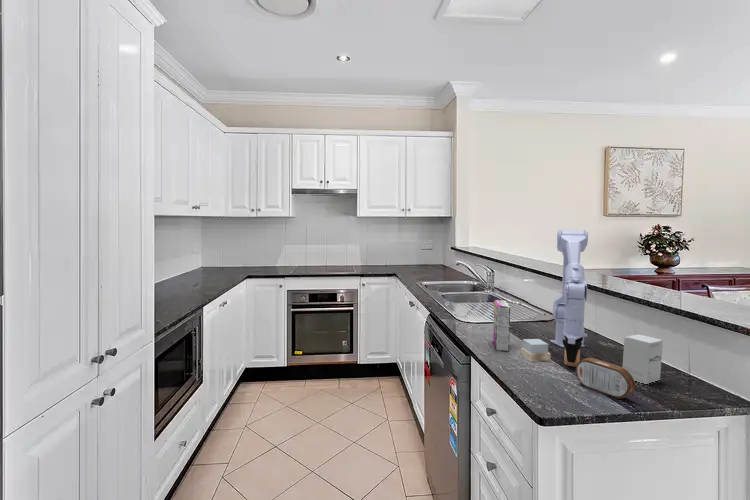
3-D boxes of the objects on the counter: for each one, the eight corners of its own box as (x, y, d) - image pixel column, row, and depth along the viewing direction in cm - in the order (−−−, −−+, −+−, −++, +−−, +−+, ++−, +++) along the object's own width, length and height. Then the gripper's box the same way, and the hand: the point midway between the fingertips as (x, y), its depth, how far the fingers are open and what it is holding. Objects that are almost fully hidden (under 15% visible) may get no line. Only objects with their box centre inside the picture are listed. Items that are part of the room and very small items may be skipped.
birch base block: (539, 355, 142) (539, 347, 141) (550, 362, 135) (550, 353, 134) (520, 355, 141) (520, 347, 140) (530, 363, 134) (531, 354, 134)
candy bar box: (492, 341, 156) (493, 299, 154) (505, 342, 155) (507, 300, 153) (494, 350, 145) (496, 305, 144) (509, 351, 144) (511, 306, 143)
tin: (634, 401, 105) (636, 370, 105) (628, 404, 104) (630, 372, 103) (579, 381, 118) (580, 353, 117) (573, 383, 116) (574, 355, 116)
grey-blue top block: (538, 347, 141) (539, 338, 141) (547, 352, 135) (548, 344, 135) (522, 347, 140) (522, 339, 140) (531, 353, 134) (531, 344, 134)
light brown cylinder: (573, 361, 135) (574, 346, 134) (582, 366, 130) (583, 351, 130) (561, 361, 134) (561, 347, 134) (569, 366, 130) (570, 351, 129)
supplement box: (646, 386, 115) (649, 343, 114) (620, 376, 122) (623, 336, 121) (661, 381, 119) (664, 339, 118) (635, 373, 125) (637, 333, 124)
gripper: (586, 325, 123) (584, 369, 124) (588, 316, 135) (586, 355, 136) (561, 322, 126) (559, 364, 127) (565, 313, 139) (563, 352, 140)
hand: (571, 359), depth 132 cm, fingers closed on light brown cylinder, 4 cm apart
